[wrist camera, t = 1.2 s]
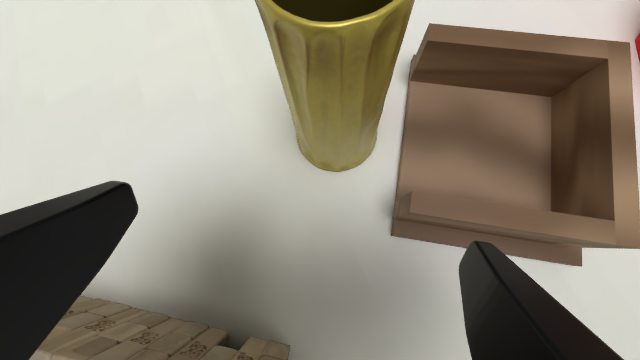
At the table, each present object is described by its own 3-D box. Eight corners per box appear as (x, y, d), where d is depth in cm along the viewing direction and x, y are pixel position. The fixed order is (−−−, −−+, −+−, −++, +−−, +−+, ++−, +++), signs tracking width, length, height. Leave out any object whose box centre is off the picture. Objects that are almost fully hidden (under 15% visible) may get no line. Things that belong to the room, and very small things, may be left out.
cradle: (572, 265, 19) (658, 274, 14) (389, 235, 20) (407, 233, 15) (570, 78, 22) (641, 27, 17) (410, 60, 23) (430, 8, 18)
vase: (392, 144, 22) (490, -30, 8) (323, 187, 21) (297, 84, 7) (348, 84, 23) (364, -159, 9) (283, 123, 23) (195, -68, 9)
